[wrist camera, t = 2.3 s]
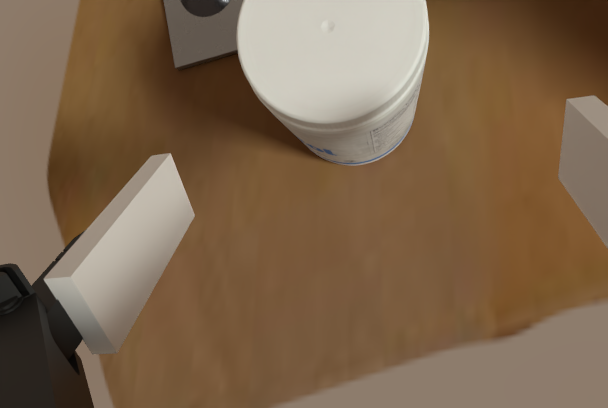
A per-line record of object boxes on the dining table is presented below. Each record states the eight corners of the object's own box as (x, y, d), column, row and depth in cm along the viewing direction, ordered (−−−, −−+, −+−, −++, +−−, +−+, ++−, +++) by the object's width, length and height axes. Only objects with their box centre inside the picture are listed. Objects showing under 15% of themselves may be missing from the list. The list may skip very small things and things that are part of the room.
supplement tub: (272, 127, 37) (192, 61, 23) (336, 27, 37) (295, -106, 22) (373, 191, 35) (355, 164, 21) (442, 86, 35) (473, -17, 20)
